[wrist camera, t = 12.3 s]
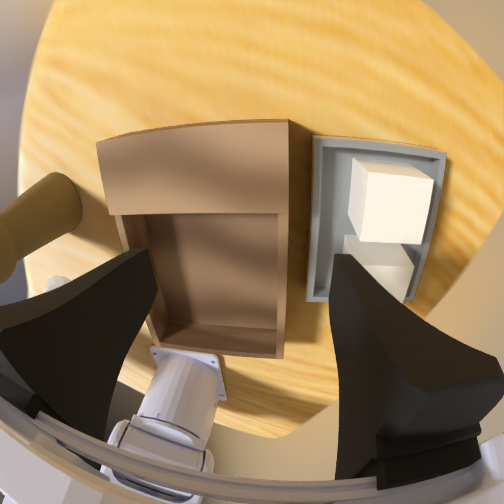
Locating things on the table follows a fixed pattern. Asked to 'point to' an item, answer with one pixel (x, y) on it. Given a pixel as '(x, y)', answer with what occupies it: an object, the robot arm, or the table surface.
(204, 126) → the walnut box
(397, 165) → the cube
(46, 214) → the cork
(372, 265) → the cube
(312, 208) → the slate dish
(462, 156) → the table surface
